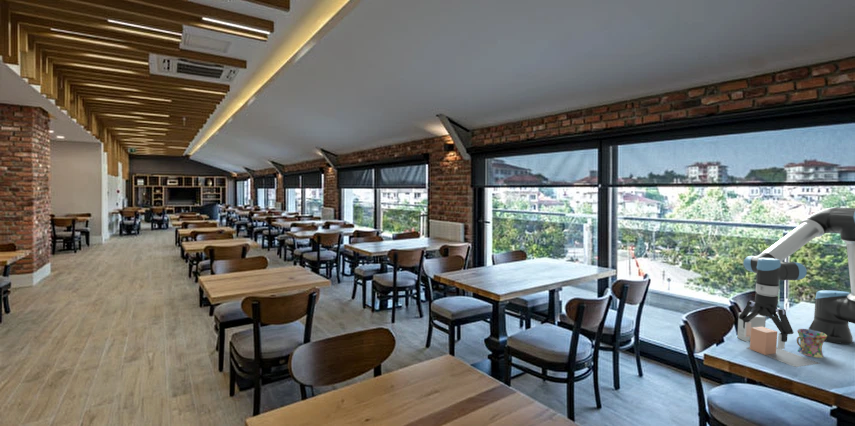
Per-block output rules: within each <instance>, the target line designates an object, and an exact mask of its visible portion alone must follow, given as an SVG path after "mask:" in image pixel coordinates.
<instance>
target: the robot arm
mask: <svg viewBox="0 0 855 426" xmlns="http://www.w3.org/2000/svg"><path fill="white" fill-rule="evenodd" d="M829 233H837V234H839V235H840V240H841V241H843V242H845V245H846V254H847V263H848V265H847V266H848V273H849V283H850V284H849V285H850V292H849V291H843V290H841V291H840V290H829V289H826V290H825V289H823V290H822V289H821V290H818V291H816V293H815V298H814V299H815V300H814V314H813V315H814V317H813V321H812V322H811V324H810V325H809V327H808V329H809V330H814V331H818V332H822V333H824V334H826V335H827V338H826V339H825V340H824V342H825V341H826V342H830V343H835V344H843V345H845V344H852V343H853V339H854V338H853V334H852V332H851V329H850V325H849V323H852V324H854V325H855V207H838V206H834V207H828V208H824V209H821V210H818V211H816V212H814V213H812V214H810V215H808V216H807V217H805V218H804V219H802V220H801V221H800V222H799V225H798V226H797V227H795V228H793V229H792V230H791V231H789V232H788V233H787V234H785V235H784V236H783V237H782V238H780V239H779V240H777V241H776V242H775V243H773V244H772V245H771V246H769V247H768V248H766V249H765V250H763V251H762V252H761V253H759V254H758V255H748V256H746V257H745V258H744V259H743V263H742V264H743V267H744V269H745V270H746V271H748V272H752V273H754V274H756V278H755V279H756V280H755V293H754V294H755V295H754V300H748V301H747V302H746V306H745V307H744V309H743V310H742V312H740V313H741V314H740V316H739V315H738V318H739V319H742V320H743V328H744V329H745V331H744V336H745V337H750V336H751V322H749V321H750V320H751V319H753V318H754V317H755V316H757V315H761V316H764V317H766V318H767V317H769V319H771V321H772V322H773V323H774V325H775V327H776V328H777V329H778V331H779V333H778V335H777V348H778V349H782V350H785V344H786V342H788V335H793V334H794V333H795V332H794V330H793V327H792V325H791V323H790V320H789V319H788V318H789V317H787V311H786V309H785V308H784V309H781V308H778V307H777V306H778V304H779V296H778V295H779V294H780V293H779V291H780V281H799V280H803V279H804V278H806V277H807V274H808V273H807V268H806V266H804V264H803V263H800V262H793V261H791V262H787V261H785V260H786V259H787V258H788V257H790V256H792V254H794V253H795V252H797V251H798V250H799V249H801V248H802V247H804V246H805V245H806V244H808V243H809V242H810V241H812V240H813V239H815V238H820V237H822V236H823V235H825V234H829ZM754 307H755V309H754V310H753V311H752V309H753V308H754ZM749 312H750V313H751V314H749ZM748 314H749V315H748ZM747 315H748V316H747Z"/></svg>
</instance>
